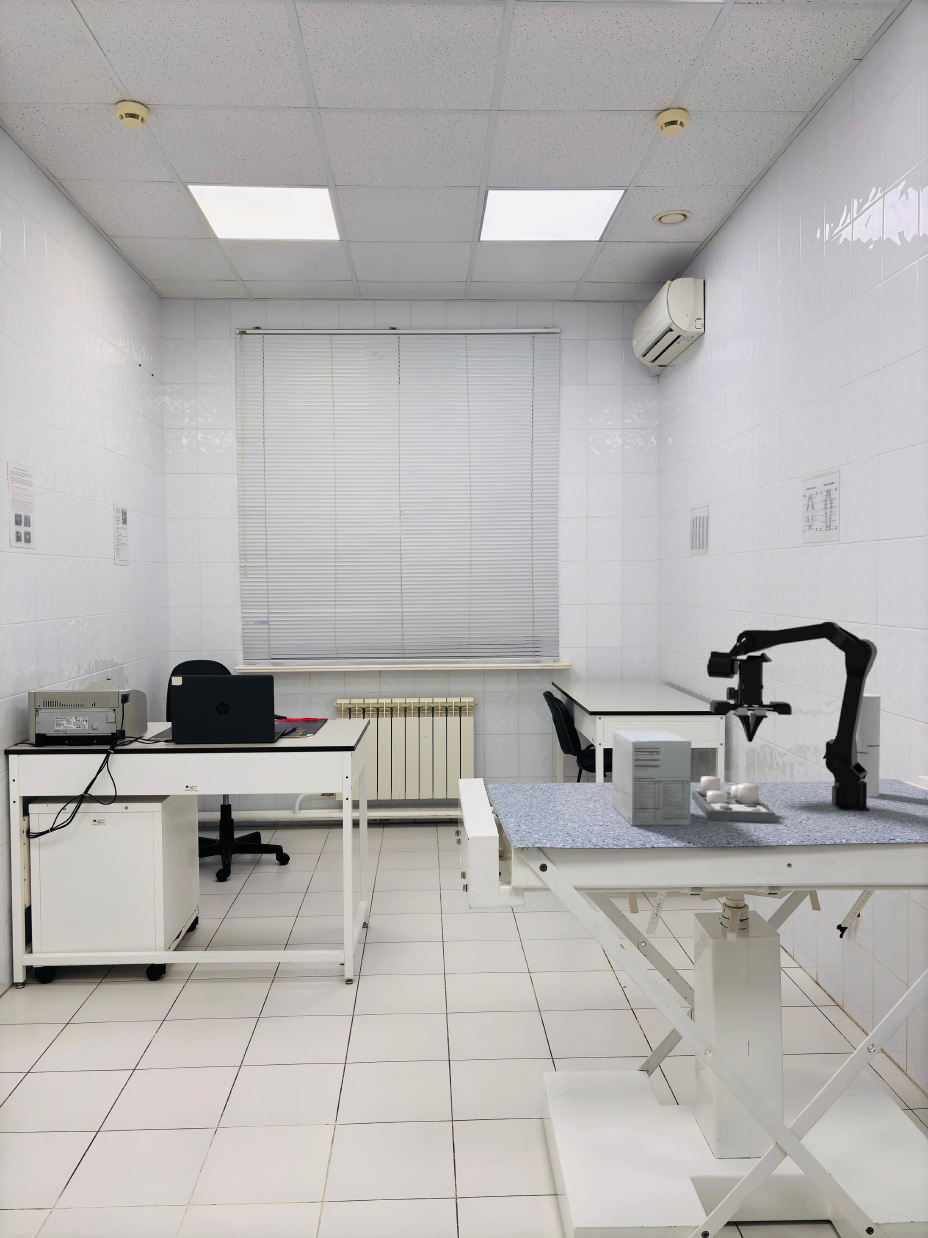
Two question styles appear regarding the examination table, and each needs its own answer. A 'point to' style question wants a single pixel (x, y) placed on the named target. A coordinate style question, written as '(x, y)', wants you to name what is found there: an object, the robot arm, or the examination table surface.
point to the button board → (733, 809)
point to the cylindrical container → (869, 741)
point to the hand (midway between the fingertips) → (749, 741)
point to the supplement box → (651, 777)
